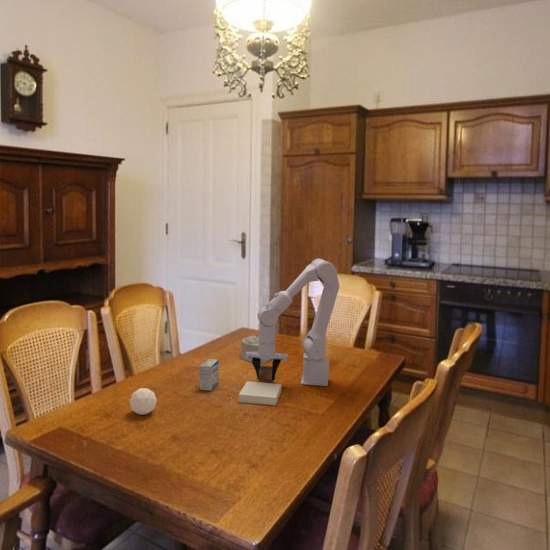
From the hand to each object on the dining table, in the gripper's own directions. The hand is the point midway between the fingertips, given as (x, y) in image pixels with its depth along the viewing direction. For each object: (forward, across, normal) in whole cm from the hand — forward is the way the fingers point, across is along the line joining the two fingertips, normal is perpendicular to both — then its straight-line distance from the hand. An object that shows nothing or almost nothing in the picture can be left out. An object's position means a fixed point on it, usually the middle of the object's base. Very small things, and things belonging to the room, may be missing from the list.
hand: (266, 379), depth 174 cm
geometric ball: (+2, -32, -30) cm, 45 cm away
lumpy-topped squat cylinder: (+2, -9, +28) cm, 29 cm away
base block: (+2, 0, -11) cm, 11 cm away
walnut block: (+2, 0, 0) cm, 2 cm away
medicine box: (+2, -19, -6) cm, 20 cm away
